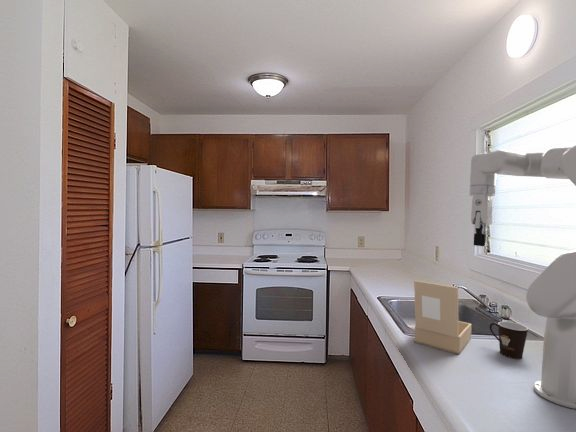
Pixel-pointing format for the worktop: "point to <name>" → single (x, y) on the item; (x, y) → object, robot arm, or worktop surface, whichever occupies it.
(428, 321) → the lid
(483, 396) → the worktop surface
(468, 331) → the tan shallow rectangular box
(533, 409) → the worktop surface
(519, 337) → the coffee mug
